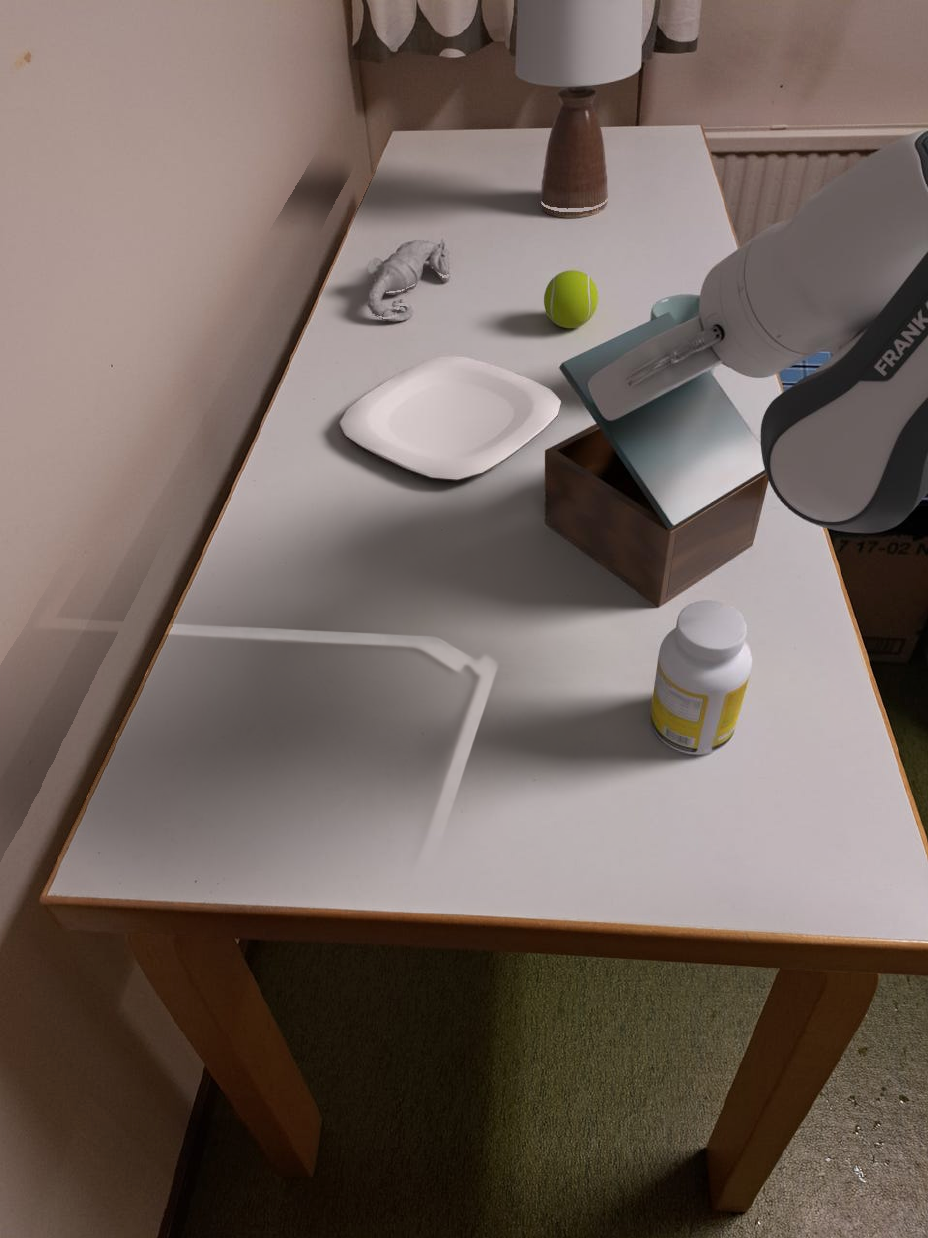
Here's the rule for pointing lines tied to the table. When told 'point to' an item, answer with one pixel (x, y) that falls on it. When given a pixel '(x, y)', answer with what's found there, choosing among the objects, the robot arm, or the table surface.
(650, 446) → the teal box lid
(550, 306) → the tennis ball
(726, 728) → the pill bottle
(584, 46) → the lamp
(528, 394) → the plate
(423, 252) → the seahorse
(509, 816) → the table surface
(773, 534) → the table surface
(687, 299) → the cup
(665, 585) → the wooden box
